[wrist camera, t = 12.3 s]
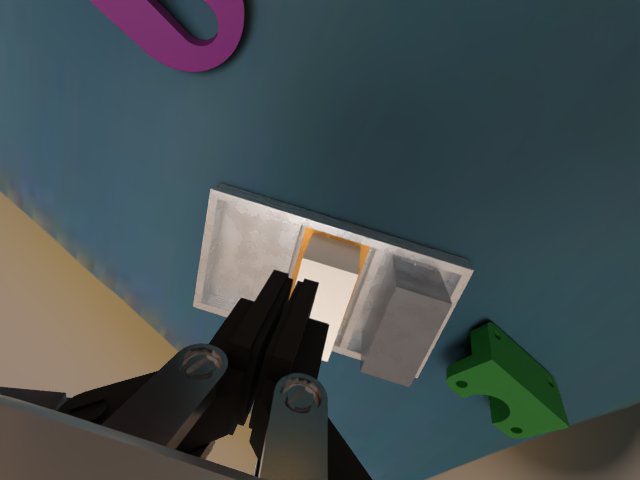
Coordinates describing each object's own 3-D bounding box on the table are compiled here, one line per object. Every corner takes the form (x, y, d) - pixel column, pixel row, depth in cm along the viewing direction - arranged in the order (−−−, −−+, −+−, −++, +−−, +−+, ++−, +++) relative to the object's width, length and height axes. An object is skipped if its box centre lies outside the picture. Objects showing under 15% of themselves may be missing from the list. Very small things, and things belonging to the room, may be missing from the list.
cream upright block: (313, 233, 35) (302, 257, 30) (360, 247, 35) (358, 274, 30) (291, 311, 39) (278, 346, 34) (333, 324, 39) (327, 361, 34)
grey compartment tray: (467, 259, 35) (486, 292, 29) (414, 362, 40) (421, 408, 34) (221, 182, 35) (190, 200, 29) (202, 295, 41) (174, 329, 35)
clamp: (452, 327, 43) (429, 365, 36) (495, 306, 39) (479, 343, 32) (517, 413, 41) (507, 472, 34) (569, 398, 37) (570, 460, 30)
